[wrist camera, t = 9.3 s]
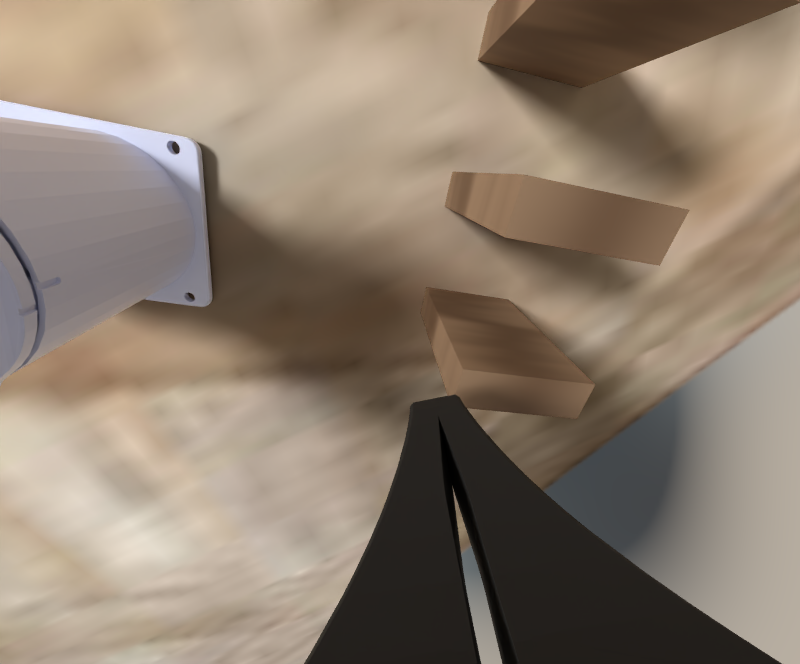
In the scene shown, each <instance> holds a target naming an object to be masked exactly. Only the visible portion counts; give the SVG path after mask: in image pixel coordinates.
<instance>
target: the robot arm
mask: <svg viewBox="0 0 800 664" xmlns="http://www.w3.org/2000/svg"><path fill="white" fill-rule="evenodd" d="M173 142H176V143H177V144H178V145H179V147H180V152H179V153H178V154H176V153H175V152H174V151H173V149H172V143H173ZM188 293H192V294H193V295H194V297H195V299H191V298H190V297H189V295H188ZM212 298H213V296H212V283H211V270H210V256H209V243H208V230H207V217H206V203H205V190H204V177H203V163H202V152H201V148H200V146H199V145H198V143H197V142H196V141H194V140H193V139H191V138H188V137H183V136H178V135H173V134H168V133H163V132H158V131H153V130H148V129H143V128H138V127H133V126H128V125H123V124H118V123H113V122H108V121H103V120H98V119H92V118H87V117H82V116H77V115H72V114H67V113H62V112H57V111H52V110H47V109H42V108H37V107H32V106H27V105H22V104H17V103H12V102H7V101H2V100H0V385H1V383H2V382H3V380H5V379H6V378H7V377H8V376H9V375H11V374H13V373H14V372H16V371H18V370H20V369H21V368H23V367H25V366H27V365H28V364H30V363H32V362H34V361H35V360H37V359H39V358H41V357H43V356H44V355H46V354H48V353H50V352H51V351H53V350H55V349H57V348H58V347H60V346H62V345H64V344H65V343H67V342H69V341H71V340H72V339H74V338H76V337H78V336H80V335H81V334H83V333H85V332H87V331H88V330H90V329H92V328H94V327H95V326H97V325H99V324H101V323H102V322H104V321H106V320H108V319H110V318H111V317H113V316H115V315H117V314H118V313H120V312H122V311H124V310H125V309H127V308H129V307H131V306H132V305H134V304H136V303H138V302H139V301H141V300H143V299H144V300H152V301H159V302H167V303H175V304H182V305H190V306H198V307H205V306H207V305H209V304H210V303H211V302H212ZM452 486H453V488H452ZM453 489H454V492H455V495H456V499H457V502H458V505H459V508H460V511H461V514H462V517H463V521H464V524H465V527H466V530H467V533H468V536H469V539H470V543H471V546H472V549H473V552H474V555H475V558H476V561H477V564H478V568H479V571H480V574H481V578H482V581H483V585H484V589H485V592H486V596H487V601H488V605H489V609H490V613H491V617H492V621H493V626H494V630H495V634H496V638H497V643H498V647H499V651H500V655H501V659H502V664H781V663H780V662H778V661H777V660H775V659H774V658H772V657H771V656H769V655H768V654H766V653H764V652H763V651H761V650H760V649H758V648H757V647H755V646H754V645H752V644H750V643H749V642H747V641H746V640H744V639H742V638H741V637H739V636H738V635H736V634H735V633H733V632H732V631H730V630H729V629H727V628H726V627H724V626H723V625H721V624H720V623H718V622H717V621H715V620H714V619H712V618H711V617H709V616H708V615H706V614H705V613H703V612H702V611H700V610H699V609H697V608H696V607H694V606H693V605H691V604H690V603H688V602H687V601H685V600H684V599H682V598H681V597H680V596H678V595H677V594H675V593H674V592H672V591H671V590H670V589H668V588H667V587H665V586H664V585H663V584H661V583H660V582H658V581H657V580H655V579H654V578H652V577H651V576H650V575H648V574H647V573H645V572H644V571H643V570H641V569H640V568H639V567H637V566H636V565H635V564H633V563H632V562H631V561H629V560H628V559H627V558H625V557H624V556H623V555H621V554H620V553H619V552H617V551H616V550H615V549H613V548H612V547H611V546H609V545H608V544H607V543H605V542H604V541H603V540H601V539H600V538H599V537H597V536H596V535H595V534H593V533H592V532H591V531H589V530H588V529H587V528H586V527H585V526H583V525H582V524H581V523H580V522H578V521H577V520H576V519H575V518H574V517H572V516H571V515H570V514H569V513H567V512H566V511H565V510H564V509H563V508H562V507H560V506H559V505H558V504H557V503H556V502H555V501H554V500H552V499H551V498H550V497H549V496H548V495H547V494H546V493H544V492H543V491H542V490H541V489H540V488H539V487H538V486H537V485H536V484H535V483H534V482H532V481H531V480H530V479H529V478H528V477H527V476H526V475H525V474H524V473H523V472H522V471H521V470H520V469H519V468H518V467H517V466H516V465H515V464H514V463H513V462H512V461H511V460H510V459H509V458H508V457H507V456H506V455H505V454H504V453H503V452H502V450H501V449H500V448H499V447H498V446H497V445H496V444H495V443H494V442H493V440H492V439H491V438H490V437H489V436H488V435H487V434H486V433H485V431H484V430H483V429H482V428H481V427H480V425H479V424H478V423H477V421H476V420H475V419H474V418H473V416H472V415H471V414H470V412H469V411H468V410H467V408H466V407H465V405H464V404H463V402H462V400H461V399H460V397H459V396H457V395H450V396H445V397H440V398H435V399H430V400H425V401H420V402H415V403H413V404H412V405H411V406H410V415H409V423H408V428H407V433H406V438H405V442H404V446H403V449H402V453H401V457H400V461H399V464H398V467H397V471H396V474H395V477H394V479H393V482H392V485H391V488H390V491H389V494H388V497H387V500H386V502H385V505H384V508H383V510H382V513H381V515H380V518H379V520H378V522H377V525H376V527H375V529H374V532H373V534H372V536H371V539H370V541H369V543H368V545H367V547H366V549H365V552H364V554H363V556H362V558H361V560H360V562H359V564H358V566H357V568H356V570H355V573H354V575H353V577H352V578H351V580H350V582H349V584H348V586H347V588H346V590H345V592H344V594H343V596H342V598H341V600H340V601H339V603H338V605H337V607H336V608H335V610H334V612H333V614H332V616H331V617H330V619H329V621H328V623H327V625H326V626H325V628H324V630H323V632H322V634H321V635H320V637H319V639H318V641H317V643H316V644H315V646H314V648H313V650H312V651H311V653H310V655H309V656H308V658H307V660H306V661H305V663H304V664H481V661H480V656H479V651H478V646H477V641H476V636H475V631H474V627H473V622H472V616H471V612H470V607H469V602H468V597H467V592H466V585H465V579H464V573H463V566H462V558H461V550H460V542H459V534H458V526H457V519H456V511H455V503H454V495H453Z"/></svg>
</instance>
